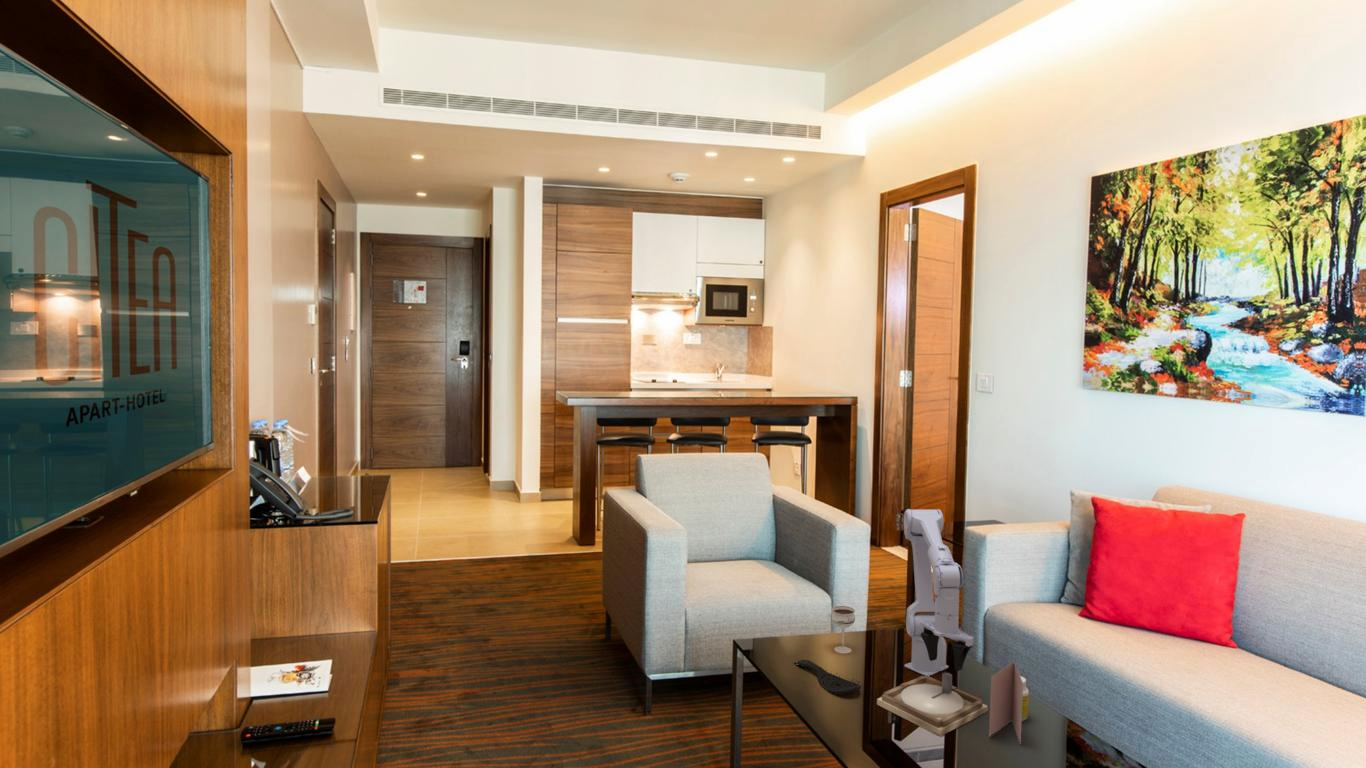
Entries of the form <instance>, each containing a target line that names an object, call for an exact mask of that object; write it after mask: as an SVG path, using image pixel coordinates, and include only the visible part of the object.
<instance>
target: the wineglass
mask: <svg viewBox="0 0 1366 768" xmlns="http://www.w3.org/2000/svg"><path fill="white" fill-rule="evenodd" d="M831 611H832V613H831V619H832V623H834V625H835V626H837V627H838V628H840V629H841V646H840V645H839V646H836V647H834V649H833V650H834V651H835V652H836V653H839V654H849V653H851V652H852V648H850V647H848V646H845V630H846V629H847V628H850V627H851V626H852V625H854V623H855V621H856V615H855V613H856V609H854V607H851V606H847V605H846V606H845V605H838V606H836V605H835V606H834V607H832V608H831Z"/></svg>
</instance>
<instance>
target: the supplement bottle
mask: <svg viewBox="0 0 1366 768" xmlns="http://www.w3.org/2000/svg"><path fill="white" fill-rule="evenodd" d="M1020 677H1021V679H1022V682H1023V698H1022V720H1023V719H1026V718H1027V717H1028V715H1029V699H1030V698H1029V697H1030V694H1029V693H1030V691H1029V688H1028V687H1027V679H1026V678H1025V677H1024V676H1021V675H1020ZM1027 719H1028V718H1027Z"/></svg>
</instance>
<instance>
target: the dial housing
mask: <svg viewBox="0 0 1366 768" xmlns="http://www.w3.org/2000/svg"><path fill="white" fill-rule="evenodd" d="M919 684H929V685H937V686H941V687H942V680H941V681H940V680H939V679H937V678H933V677H931V676H927V675H926V676H925V675H921V676H918V677H916V678H914V679H911V680H909V681H907V682H903V683H901V684H899V685H898V686H896V687H892V688H891V689H889V690H886V691H884V692H882V693H883V694H882V695H881V696H880V697H879V698H876V705H877V706H878V707H881V708H883V709H885V710H887V711H888V712H890V713H893V714H895V715H897V716H899V717H901V718H902V719H904V720H907V721H909V722H911V723H912V724H914V725H917V726H919V727H921V728H923V729H925V730H927V731H929V732H931V733H933V734H935V735H937V736H938V737H942V736H944V735H946V734H948V733H949V732H951V731H953V730H955V729H957V728H959V727H961V726H962V725H965V724H967V723H968V722H970V721H973V720H975V719H977V718H979V717H980V716H982V715H984V714H986V713H987V712H986V711H988V710H989V707H988V705H987V704H984V703H983V702H984V700H983V699H981V698H979V697H977V696H974V695H973V694H970V693H968V692H965V691H963V690H961V689H958V687H956V686H954V685H952V691H954V692H956V693H957V694H959V695H960V696H961V698H962V699H963V702H964V706H963V708H962V709H960V710H958V711H956V712H954V713H952V714H950V715H948V716H946V717H932V716H930V715H928V714H926V713H924V712H922V711H920V710H918V709H916V708H913V707H911V706H909V705H907V704H905V703H903V702H902V701H901V693H902V691H903V690H904V689H905V688H907V687H909V686H912V685H919ZM985 712H986V713H985ZM988 712H989V711H988ZM983 713H984V714H983ZM981 714H982V715H981ZM978 716H979V717H978Z"/></svg>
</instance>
